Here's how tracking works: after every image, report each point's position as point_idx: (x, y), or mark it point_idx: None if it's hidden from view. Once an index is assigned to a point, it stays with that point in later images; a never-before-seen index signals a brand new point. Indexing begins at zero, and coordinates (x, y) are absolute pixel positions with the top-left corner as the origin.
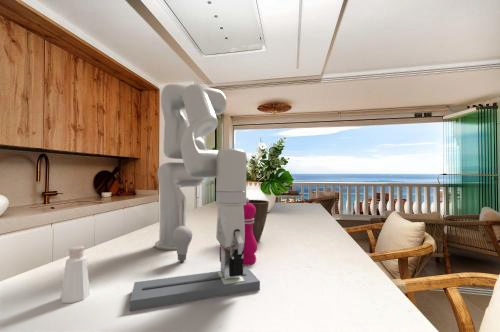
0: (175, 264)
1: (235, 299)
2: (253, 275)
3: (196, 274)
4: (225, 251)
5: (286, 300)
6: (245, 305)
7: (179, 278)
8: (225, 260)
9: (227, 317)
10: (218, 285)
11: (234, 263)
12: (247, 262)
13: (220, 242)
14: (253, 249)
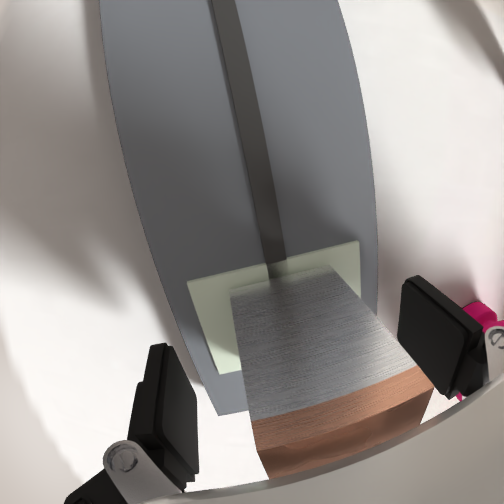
0: (498, 59)
1: (133, 307)
2: None
3: (359, 109)
4: (255, 444)
5: None
6: (94, 337)
7: (311, 12)
8: (245, 376)
9: (20, 272)
10: (176, 250)
11: (130, 430)
12: None
13: (346, 489)
14: (459, 397)
